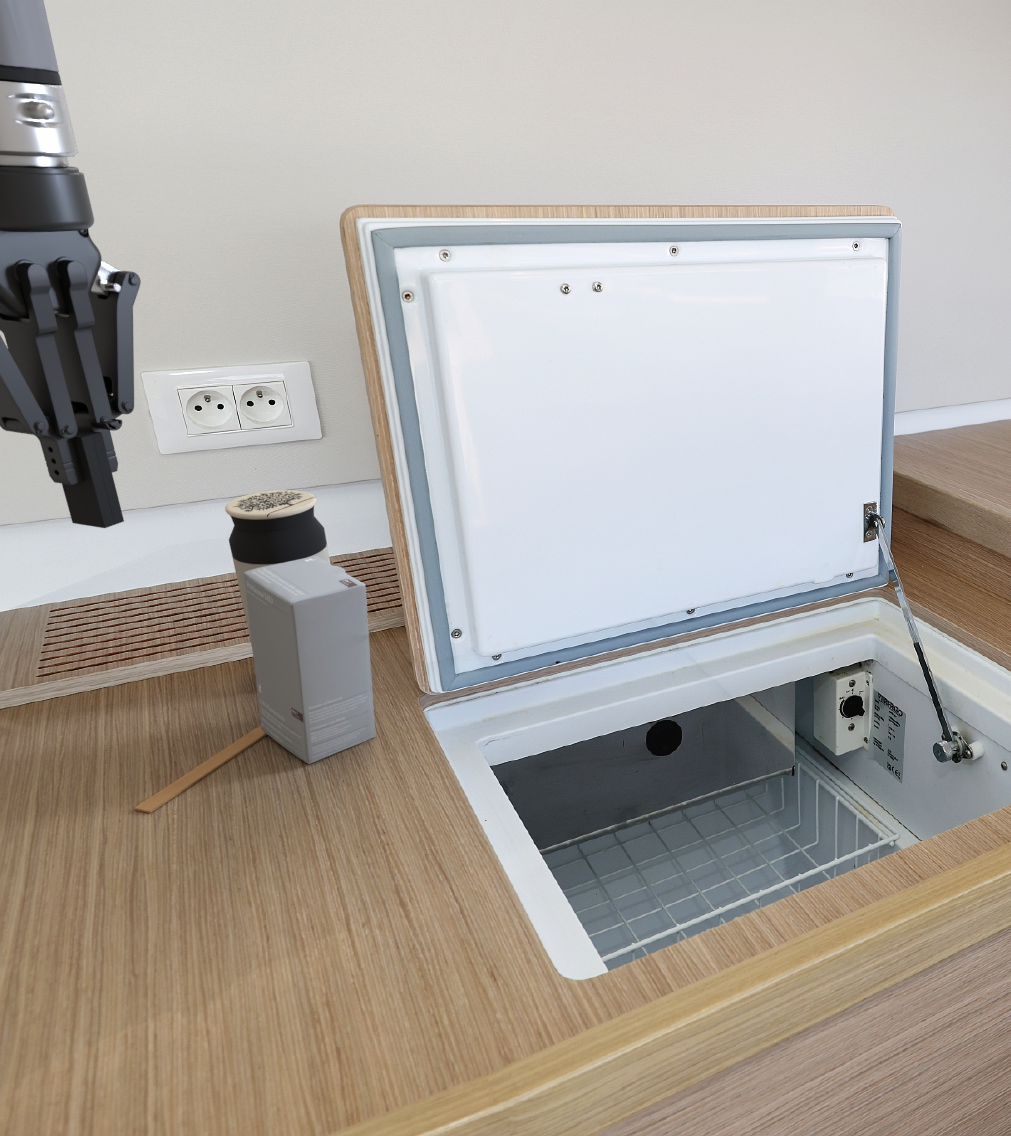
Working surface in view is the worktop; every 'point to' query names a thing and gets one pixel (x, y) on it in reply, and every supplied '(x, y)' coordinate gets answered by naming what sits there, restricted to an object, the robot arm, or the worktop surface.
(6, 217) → the robot arm
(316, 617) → the cosmetic box
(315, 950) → the worktop surface
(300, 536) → the travel mug
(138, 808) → the wooden strip
